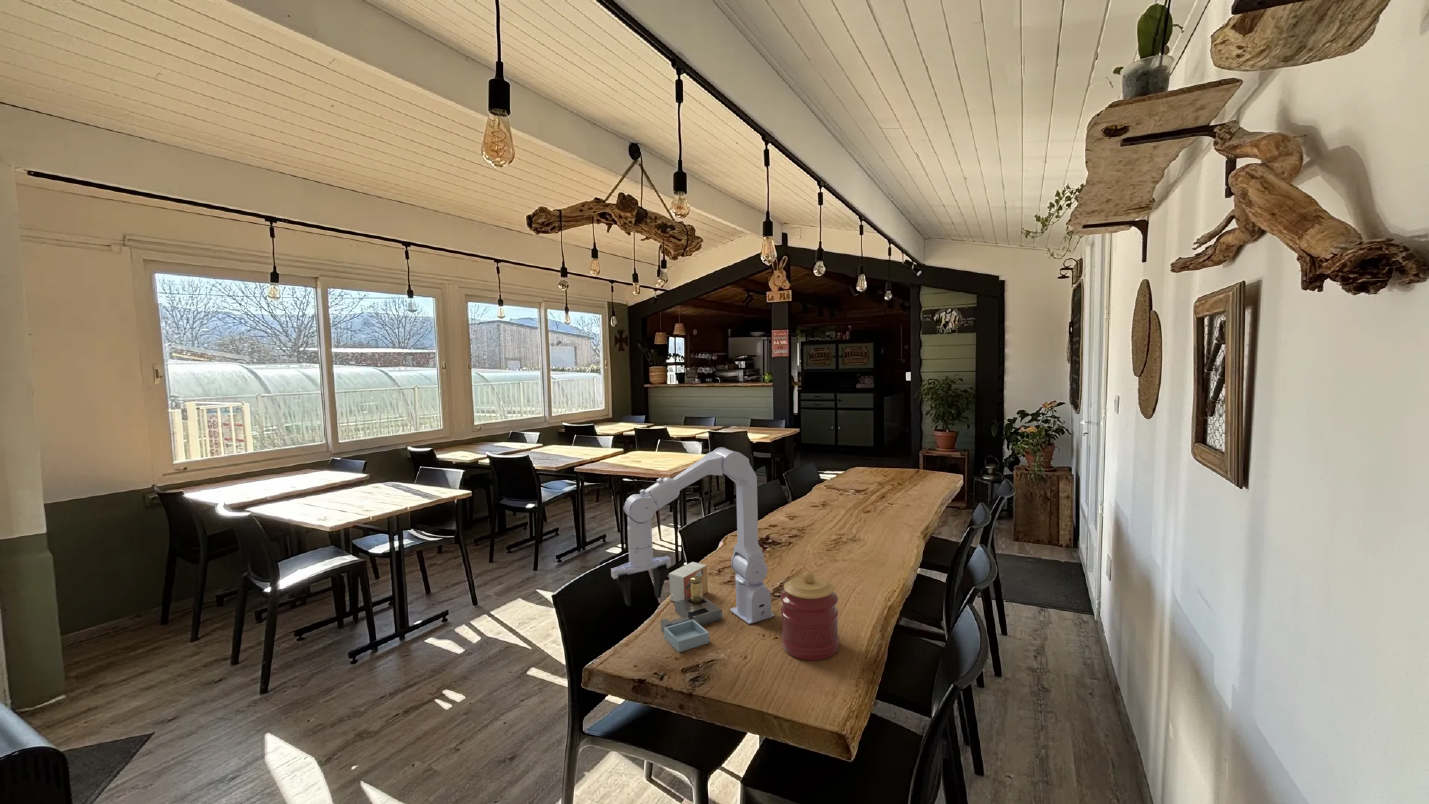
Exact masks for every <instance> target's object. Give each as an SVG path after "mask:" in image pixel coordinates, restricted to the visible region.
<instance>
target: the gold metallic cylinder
mask: <svg viewBox="0 0 1429 804" xmlns="http://www.w3.org/2000/svg"><path fill="white" fill-rule="evenodd" d="M690 583H691V604H692V605H693V606H695V605H699V604H702V603H703V600H702V577H701V576H692V577H690Z"/></svg>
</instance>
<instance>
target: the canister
mask: <svg viewBox="0 0 1429 804" xmlns="http://www.w3.org/2000/svg"><path fill="white" fill-rule="evenodd" d="M783 589H784V590H783V591H782V592H781V594H780V600H781V602H782V606H781V609H780V614H781V630H782V632H781V643H782V645H783V646H782V647H783V650H784V651H785V652H786V653H787V654H788V655H790V656H792V657H794V658H797V659H799V660H800V659H801V660H804V661H821V660H826V659H829V658H831V657H833V656H834V655H836V654H837V652H838V649H839V645H840V637H839V621H838V620H839V619H838V618H839V609H838V608H837V603H838V602H839V596H838V595H837V593H836V592H834V591H835V586H834V585H833V584H832V583H831V582H830V581H828V580H827V579H826V578H824V577H821V576H819V575H815V574H813V572H812V571H805V572H804V573H803V574H801V575H796V576H794V577H792V578H790V579H789V580H787V581H786V582H785V583H784V585H783Z"/></svg>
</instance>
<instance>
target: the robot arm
mask: <svg viewBox="0 0 1429 804" xmlns="http://www.w3.org/2000/svg"><path fill="white" fill-rule="evenodd" d="M723 475H725V476H727V478H729V479H730V480H731V481H732V482H733V483H735V484H736V487H735V488H736V492H735V495H736V496H735V497H736V529H737V530H736V534H737V535H736V536H737V537H736V538H737V541H736V542H737V543H735V545H734V547H733V555H732V556H731V560H730V567H731V569H732V570H733V571H734V572H735V577H734V578H735V599H736V600H735V602H736V603H735V604H736V606H735V607H732V608H731V607H730V609H729V611H730V612H732V613H733V614H734V615H736V617H739V618H740V619H741V620H742V621H744V622H745V623H747V624H749V625H752V624H754V623H757V622H761V621H764V620H768V619H770V618H773V617H775V614H774V613H773V612H772V593H771V591H770V590H769V588H768V587H767V586H766V585H765V582H764V580H765V579H766V577H767V576H768V575H767V574H768V566H767V564H766V561H765V555H764V552H763V550H762V548H761V547H760V545H759V521H758V520H759V518H758V517H759V515H758V514H759V513H758V512H759V511H758V509H759V508H758V477H757V474H756V472H755V471H754V469H753V467H752V465H751V463H750V459H749V458H748V457H747V456H745V455H744V454H742V453H741V452H739V451H734V450H731V449H728V448H726V447H722V446H721V447H717V448H715V449H714V450H713V451H710V452H708V453H705V454H704V456H703V457H702V458H701V459H699V460H697V461H696V462H694V463H693V464H691V465H690V466H689V467H688V468H687V467H686V469H684V470H683V471H682V472H680V473H678V474H677V475H676V476H674V477H673V478H671V477H667V476H665V477H664V478H662V477H659V478H658V479H656V482H655V483H653V484H652V485H650V486H648V487H647V488H646V489H640V490H639V493H637V494H636V493H634V494H632V495H630V496H629V497H627V498H626V500H625V502H624V505H623V507H622V508H623V512H624V513H625V514H626V516H627V518H626V519H627V529H626V531H627V547H628V562H625V563H624V564H621V565H619V566H616V567H613V568H610V574H611V578H612V579H613V580H616V582H617V584H618V586H619V588H620V590H621V593H622V595H623V598H624V603H625V605H626V606H627V607H630V606H632V597H631V587H632V586H631V585H632V580H631V579H630V577H629V575H632V574H636V573H641V572H645V571H649V570H651V571H652V575H653V577H652V578H653V591H654V592H653V593H654V596H655V597H656V598H657V599H661V597H662V592H663V591H662V590H663V586H664V584H665V581H666V579H667V577H668V576H669V573H670V572H669V571H670V569H669V568H668V567H671V565H672V562H671V561H672V560H671V557H670V556H668V555H664V556H658V557H657V556H656V557H654V550H653V548H654V547H653V530H652V527H653V526H652V518H653V516H654V514H655V512H658V510H660V509H662V508H663V507H665V506H666V505H668V504H670V503H671V502H672V501H674V500H676V499H677V498H678V497H679V495H680V491H682V490H683V489H685V488H686V487H688V486H690V485H692V484H693V483H695V482H697V481H699V480H701V479H703V478H704V477H707V476H723Z"/></svg>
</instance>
